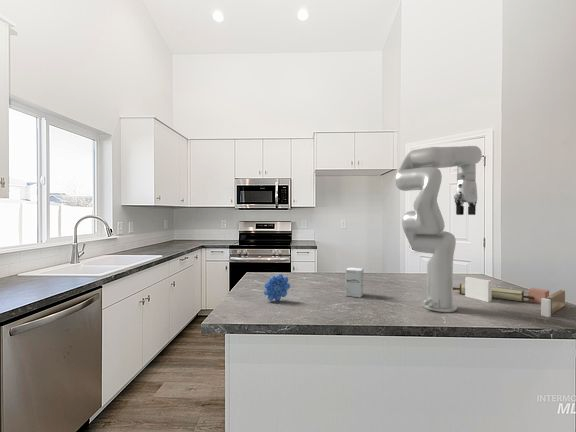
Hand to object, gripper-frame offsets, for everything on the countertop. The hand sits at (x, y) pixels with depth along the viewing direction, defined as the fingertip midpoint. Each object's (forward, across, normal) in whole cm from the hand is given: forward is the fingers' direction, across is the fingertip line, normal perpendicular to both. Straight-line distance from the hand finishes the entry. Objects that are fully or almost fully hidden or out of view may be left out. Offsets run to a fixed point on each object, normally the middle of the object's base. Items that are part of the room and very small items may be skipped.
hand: (465, 214), depth 146 cm
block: (+38, +20, -21) cm, 48 cm away
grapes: (+38, -78, +40) cm, 96 cm away
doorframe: (+38, +1, -16) cm, 41 cm away
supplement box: (+39, -42, +29) cm, 64 cm away
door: (+38, +12, -30) cm, 50 cm away
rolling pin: (+39, +9, -6) cm, 40 cm away
